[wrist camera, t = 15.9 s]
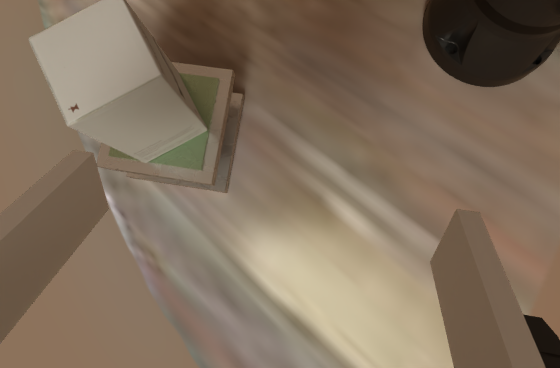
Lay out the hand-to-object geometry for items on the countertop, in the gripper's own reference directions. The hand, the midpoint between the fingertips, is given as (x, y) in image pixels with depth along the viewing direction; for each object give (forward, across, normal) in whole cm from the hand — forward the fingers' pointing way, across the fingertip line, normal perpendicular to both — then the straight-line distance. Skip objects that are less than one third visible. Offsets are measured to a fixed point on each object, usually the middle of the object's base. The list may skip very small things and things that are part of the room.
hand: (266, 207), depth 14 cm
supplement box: (+21, -14, -9) cm, 27 cm away
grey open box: (+27, -14, -15) cm, 34 cm away
